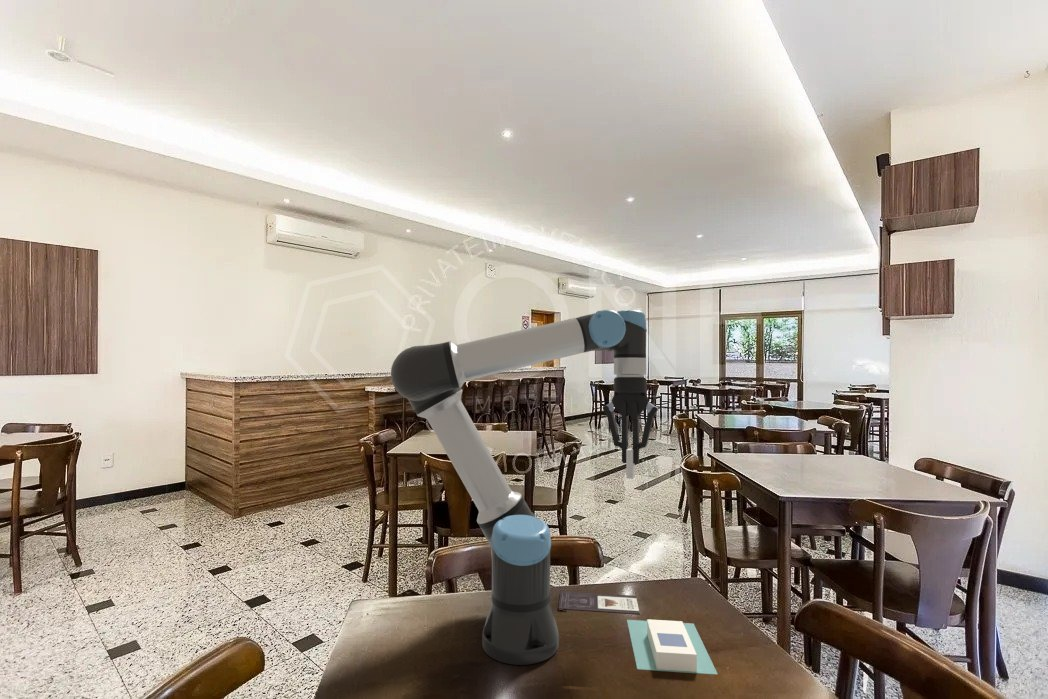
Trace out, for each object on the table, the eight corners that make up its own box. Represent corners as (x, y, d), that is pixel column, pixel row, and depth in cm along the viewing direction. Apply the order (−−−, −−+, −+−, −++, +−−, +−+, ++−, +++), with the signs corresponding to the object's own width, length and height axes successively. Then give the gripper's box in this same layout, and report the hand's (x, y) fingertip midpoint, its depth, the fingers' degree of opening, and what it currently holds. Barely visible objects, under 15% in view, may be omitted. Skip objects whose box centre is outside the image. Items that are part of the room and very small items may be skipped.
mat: (637, 671, 89) (637, 669, 89) (626, 621, 106) (626, 619, 106) (717, 676, 87) (717, 674, 87) (693, 625, 105) (693, 623, 105)
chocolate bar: (560, 591, 120) (635, 595, 118) (560, 595, 120) (635, 599, 118) (558, 608, 111) (639, 613, 109) (558, 612, 111) (639, 618, 109)
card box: (647, 634, 100) (656, 669, 88) (647, 619, 101) (656, 651, 89) (682, 636, 100) (696, 672, 88) (682, 621, 100) (696, 654, 88)
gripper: (660, 376, 117) (661, 476, 116) (605, 376, 122) (606, 472, 121) (656, 376, 110) (657, 483, 109) (599, 376, 115) (599, 478, 114)
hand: (630, 477), depth 115 cm, fingers closed
